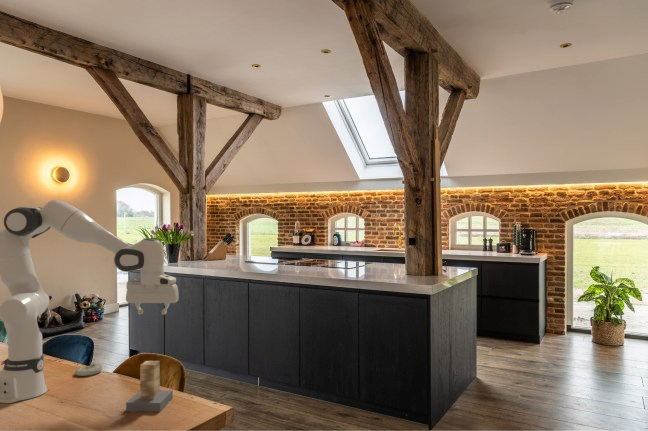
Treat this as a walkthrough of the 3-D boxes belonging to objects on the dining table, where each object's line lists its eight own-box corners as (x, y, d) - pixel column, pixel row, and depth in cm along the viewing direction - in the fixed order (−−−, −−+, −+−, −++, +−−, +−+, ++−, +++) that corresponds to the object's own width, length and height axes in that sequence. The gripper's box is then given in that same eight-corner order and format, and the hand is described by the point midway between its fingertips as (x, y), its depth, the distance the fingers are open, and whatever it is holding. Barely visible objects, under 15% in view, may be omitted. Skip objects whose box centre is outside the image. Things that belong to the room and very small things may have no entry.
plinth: (126, 411, 162) (126, 402, 162) (140, 398, 174) (140, 390, 174) (160, 411, 162) (160, 403, 162) (172, 398, 174) (172, 390, 174)
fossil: (88, 359, 210) (108, 363, 208) (87, 367, 210) (107, 371, 208) (71, 367, 199) (91, 371, 197) (70, 375, 199) (90, 379, 197)
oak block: (140, 398, 166) (140, 365, 166) (146, 393, 171) (146, 360, 171) (154, 399, 166) (154, 365, 166) (159, 393, 171) (159, 360, 171)
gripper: (122, 280, 183) (122, 315, 183) (174, 280, 182) (174, 315, 182) (130, 278, 189) (130, 312, 189) (180, 278, 188) (180, 312, 188)
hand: (152, 314), depth 185 cm, fingers open, 8 cm apart
